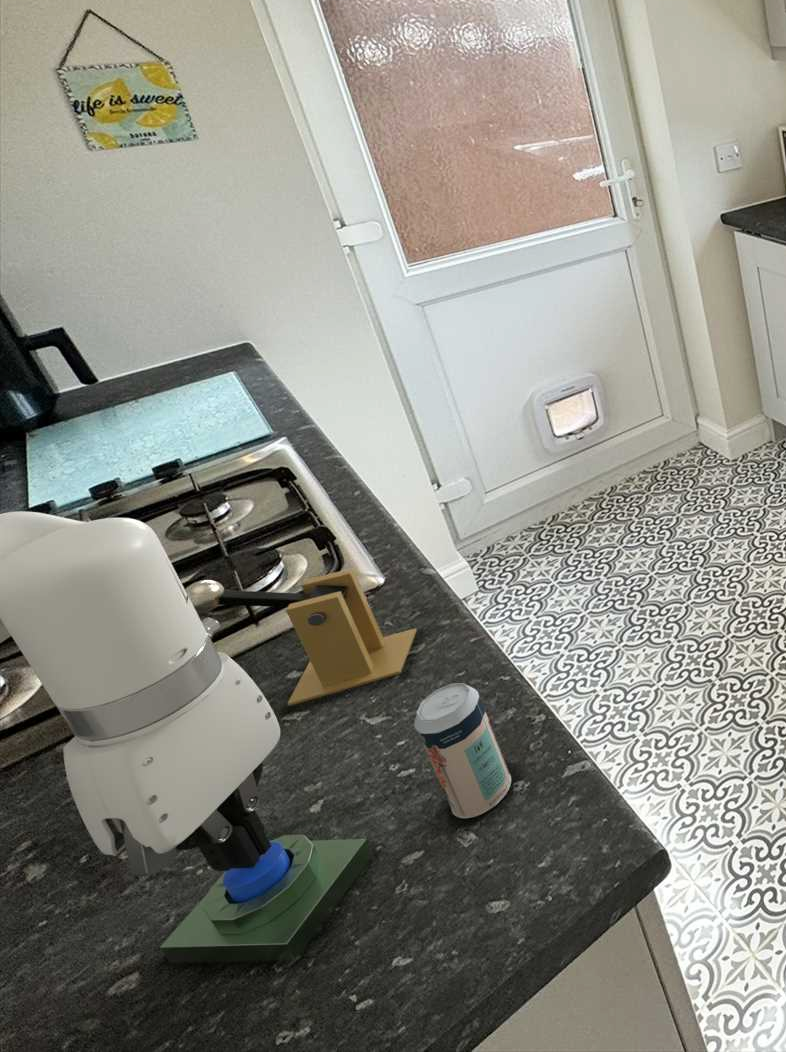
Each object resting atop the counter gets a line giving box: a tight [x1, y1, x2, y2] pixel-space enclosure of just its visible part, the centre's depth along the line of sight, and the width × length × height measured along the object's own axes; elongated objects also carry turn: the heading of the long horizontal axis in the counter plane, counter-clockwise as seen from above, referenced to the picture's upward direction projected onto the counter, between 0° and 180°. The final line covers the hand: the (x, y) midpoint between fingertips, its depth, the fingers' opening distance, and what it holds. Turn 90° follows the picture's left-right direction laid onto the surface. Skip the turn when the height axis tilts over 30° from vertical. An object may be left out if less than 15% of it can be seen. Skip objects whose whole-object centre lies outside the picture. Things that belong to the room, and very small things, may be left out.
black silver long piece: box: [184, 579, 348, 615], centre depth 81 cm, size 13×3×3 cm, turn 113°
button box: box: [159, 834, 374, 964], centre depth 63 cm, size 10×8×4 cm
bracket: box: [285, 568, 418, 707], centre depth 85 cm, size 10×7×12 cm
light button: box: [223, 841, 290, 902], centre depth 62 cm, size 4×4×2 cm
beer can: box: [413, 682, 512, 819], centre depth 70 cm, size 5×5×12 cm
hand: (244, 857), depth 62 cm, fingers closed
